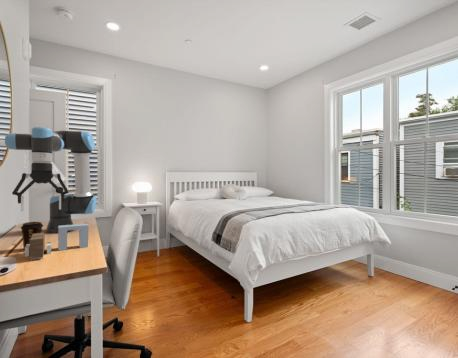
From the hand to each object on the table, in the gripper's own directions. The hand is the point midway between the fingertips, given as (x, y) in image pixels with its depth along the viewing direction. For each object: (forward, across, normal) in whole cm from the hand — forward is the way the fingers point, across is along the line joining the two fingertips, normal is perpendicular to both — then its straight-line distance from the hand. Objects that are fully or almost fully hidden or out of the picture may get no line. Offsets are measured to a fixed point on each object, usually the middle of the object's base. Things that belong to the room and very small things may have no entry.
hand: (41, 210), depth 114 cm
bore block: (+21, +12, +9) cm, 26 cm away
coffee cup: (+21, -4, +16) cm, 27 cm away
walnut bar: (+20, -2, +2) cm, 20 cm away
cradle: (+21, -2, +3) cm, 21 cm away
